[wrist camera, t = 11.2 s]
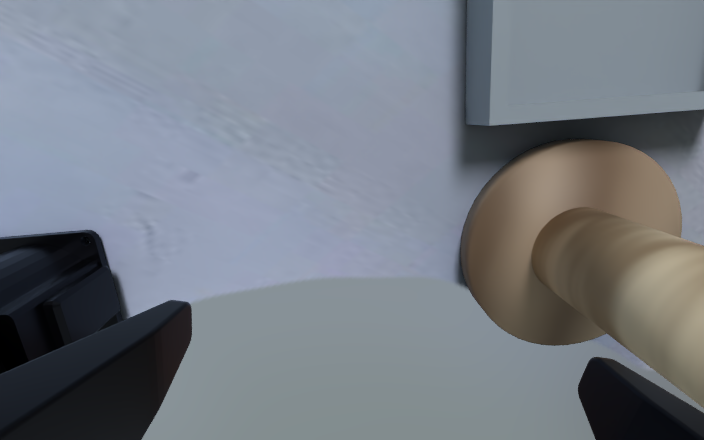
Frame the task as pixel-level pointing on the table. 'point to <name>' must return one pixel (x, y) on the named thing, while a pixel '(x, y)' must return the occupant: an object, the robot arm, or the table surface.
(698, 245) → the oak canister
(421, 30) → the table surface
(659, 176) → the tan wooden disc
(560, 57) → the grey tray
